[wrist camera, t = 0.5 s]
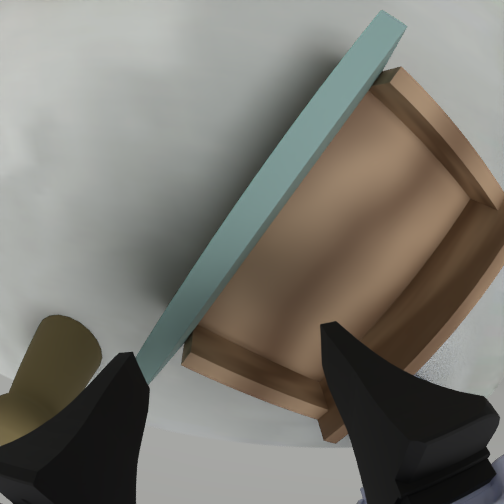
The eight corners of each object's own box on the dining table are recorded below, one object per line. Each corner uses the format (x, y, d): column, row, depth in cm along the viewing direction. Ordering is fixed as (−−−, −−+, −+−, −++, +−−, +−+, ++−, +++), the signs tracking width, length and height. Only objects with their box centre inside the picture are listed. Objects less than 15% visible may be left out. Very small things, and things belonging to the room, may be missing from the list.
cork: (50, 369, 23) (3, 464, 13) (29, 312, 21) (-41, 406, 11) (109, 377, 24) (73, 486, 14) (92, 317, 21) (32, 431, 11)
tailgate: (381, 73, 15) (407, 26, 9) (185, 340, 20) (143, 391, 14) (363, 60, 15) (381, 9, 9) (170, 329, 20) (124, 375, 14)
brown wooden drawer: (473, 191, 20) (533, 216, 14) (316, 383, 25) (335, 443, 19) (353, 65, 16) (406, 45, 10) (175, 315, 22) (161, 380, 16)
